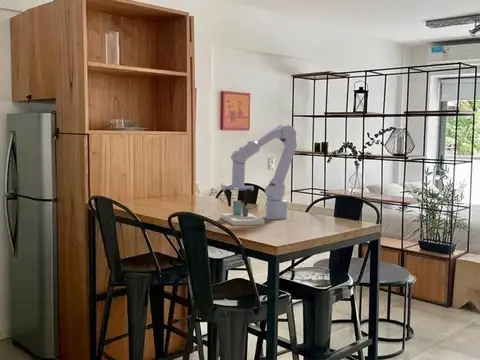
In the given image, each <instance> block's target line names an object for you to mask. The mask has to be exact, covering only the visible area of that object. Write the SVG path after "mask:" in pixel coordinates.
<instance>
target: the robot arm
mask: <svg viewBox="0 0 480 360" xmlns="http://www.w3.org/2000/svg"><path fill="white" fill-rule="evenodd" d="M296 136H297V131H296V130H295V128H294V126H292V125H290V124H287V125H283V124H282V125H278V126H277V127H275V128H274V127H273V129H271V130H270V131H268V132H266V133H265V134H264V135H263V136H261V137H260V138H259V139H257V140H256V141H255V140H249V141H248V142H247V143H246V144H245V145H244V146H242V147H241V146H240V147H239V148H238V150H237V149H236V150H234V151H233V152H232V153H231V156H230V159H231V161H232V174H231V176H232V178H231V185H222V186H221V187H222V189H221V190H222V191H223V192H224V195H225V197H226V201H227V205H228V207H232V195H233V192H232V191H243V198H244V199H243V206H248V202H249V199H250V197H251V195H252V193H253V191H254V190H255V189H254V187H255V186H254V185H245V179H246V178H245V176H246V175H245V173H246V162H247V161H248V159H249V158H251V157H252V156H254V155H256V154H257V153H258V152H260V148H261V147H262V146H264V145H267V144H268V143H269V142H271V141H273V140H274V139H279V141H280V142H282V145H283V151H282V153H281V156H280V158H279V162H278V164H277V167H276V170H275V172H274V175H273V178H272V179H270V181H269V184H268V185H267V186H266V187H265V188H264V189H265V190H264V193H265V194H264V195H266V201H265V202H266V207H265V215H262V217H263V218H264V219H267V220H287V219H288V217H287V216H288V202H287V200H286V199H283V198H284V195H285V188H286V185H285V179H286V177H287V174H288V172H289V168H290V166H291V163H292V160H293V158H294V155H295V153H296V151H297V145H298V143H297V137H296Z"/></svg>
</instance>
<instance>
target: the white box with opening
mask: <svg viewBox="0 0 480 360" xmlns="http://www.w3.org/2000/svg"><path fill="white" fill-rule="evenodd" d="M249 210H253V207H252V206H248V205H247V206H244V205H242V215H233V212H232V213H220V219H221V220H223V221H225V222H227V223H229V224H230V225H232V226H256V225H257V226H259V225H265V219H263V218H261V217H259V216H256V215H254V214H252V213H250V212H249Z"/></svg>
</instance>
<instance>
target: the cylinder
mask: <svg viewBox="0 0 480 360" xmlns="http://www.w3.org/2000/svg"><path fill="white" fill-rule="evenodd" d="M232 203H233V205H232V213H233V215H242V213H243V201H242V200H234V201H232Z"/></svg>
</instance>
